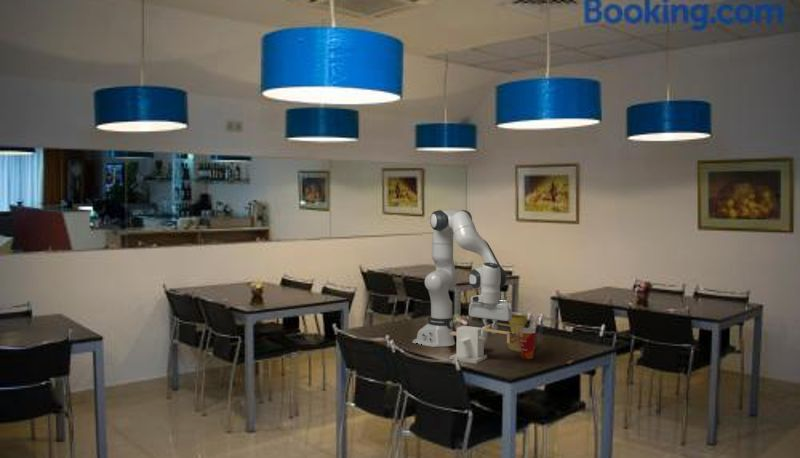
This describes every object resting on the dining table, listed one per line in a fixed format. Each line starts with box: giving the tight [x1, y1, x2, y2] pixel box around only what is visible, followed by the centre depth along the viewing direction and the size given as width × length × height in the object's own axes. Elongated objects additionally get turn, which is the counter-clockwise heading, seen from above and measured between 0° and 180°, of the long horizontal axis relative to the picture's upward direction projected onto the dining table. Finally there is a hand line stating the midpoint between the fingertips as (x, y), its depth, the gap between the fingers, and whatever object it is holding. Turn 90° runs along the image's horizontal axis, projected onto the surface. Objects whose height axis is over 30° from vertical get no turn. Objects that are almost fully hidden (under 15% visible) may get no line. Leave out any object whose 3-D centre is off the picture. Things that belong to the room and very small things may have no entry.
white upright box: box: [448, 325, 489, 364], centre depth 314 cm, size 18×14×14 cm
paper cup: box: [519, 327, 536, 360], centre depth 318 cm, size 8×8×14 cm
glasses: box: [481, 322, 523, 344], centre depth 301 cm, size 16×14×5 cm
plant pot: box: [507, 314, 528, 335], centre depth 374 cm, size 10×10×10 cm
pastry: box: [507, 332, 536, 353], centre depth 338 cm, size 13×15×8 cm
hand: (489, 328), depth 305 cm, fingers closed on glasses
